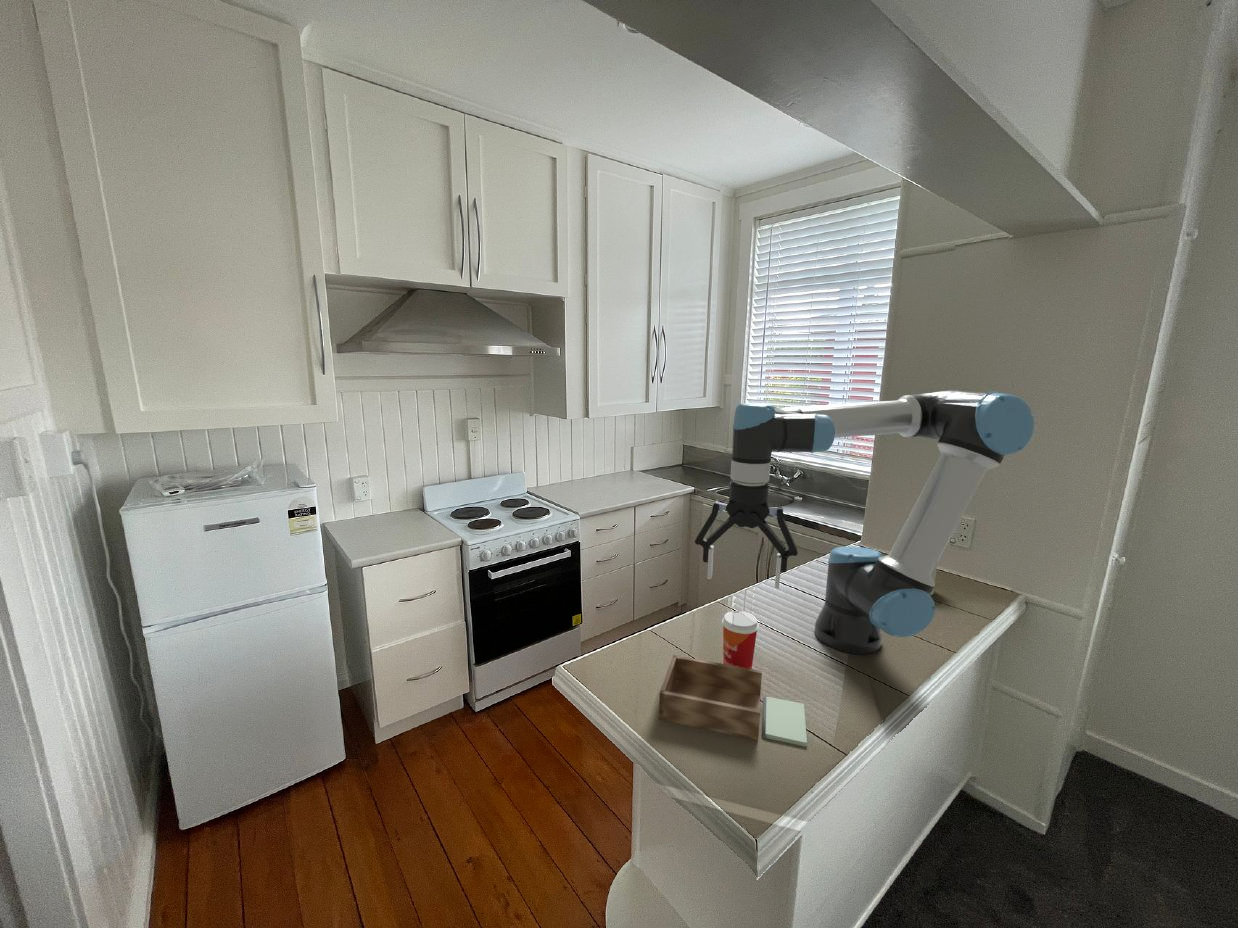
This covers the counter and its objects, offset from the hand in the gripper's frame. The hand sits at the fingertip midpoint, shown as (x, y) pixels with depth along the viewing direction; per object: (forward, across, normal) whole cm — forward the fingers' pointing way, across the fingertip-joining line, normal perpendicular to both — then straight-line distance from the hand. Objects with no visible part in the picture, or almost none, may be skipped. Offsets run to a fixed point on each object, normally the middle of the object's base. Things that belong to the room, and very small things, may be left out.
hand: (742, 581), depth 105 cm
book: (+21, -6, +12) cm, 25 cm away
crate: (+22, +4, +12) cm, 26 cm away
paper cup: (+23, 0, 0) cm, 23 cm away
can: (+22, -49, -63) cm, 83 cm away
